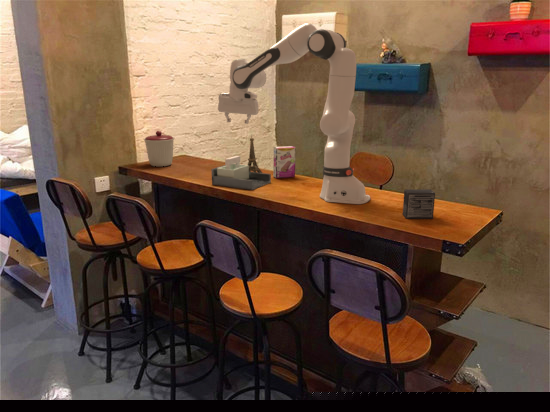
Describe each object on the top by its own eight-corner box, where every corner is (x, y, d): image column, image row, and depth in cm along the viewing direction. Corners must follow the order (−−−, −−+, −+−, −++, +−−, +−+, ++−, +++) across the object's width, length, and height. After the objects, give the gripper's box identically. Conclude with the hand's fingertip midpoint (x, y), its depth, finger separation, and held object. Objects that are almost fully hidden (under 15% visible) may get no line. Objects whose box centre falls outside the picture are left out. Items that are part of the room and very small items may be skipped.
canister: (139, 166, 273) (136, 131, 267) (158, 161, 289) (155, 128, 283) (164, 169, 266) (161, 133, 261) (182, 163, 282) (179, 129, 276)
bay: (270, 182, 233) (270, 167, 231) (252, 190, 218) (252, 173, 216) (232, 177, 244) (231, 163, 242) (212, 184, 229) (211, 169, 227)
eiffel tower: (258, 179, 241) (258, 132, 234) (240, 178, 244) (238, 131, 237) (264, 175, 251) (264, 129, 244) (246, 174, 253) (245, 129, 246)
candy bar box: (276, 178, 241) (276, 148, 237) (273, 176, 246) (273, 146, 241) (295, 177, 245) (295, 147, 240) (292, 175, 250) (292, 145, 245)
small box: (428, 214, 180) (431, 188, 177) (433, 219, 173) (436, 192, 170) (401, 214, 180) (403, 188, 177) (405, 219, 174) (408, 192, 171)
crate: (248, 178, 236) (248, 156, 233) (233, 184, 225) (233, 160, 221) (233, 176, 241) (232, 154, 238) (217, 181, 229) (216, 158, 226)
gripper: (216, 92, 218) (215, 121, 222) (255, 95, 213) (254, 125, 217) (221, 92, 224) (220, 120, 228) (260, 95, 219) (258, 124, 223)
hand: (237, 122), depth 223 cm, fingers open, 8 cm apart
